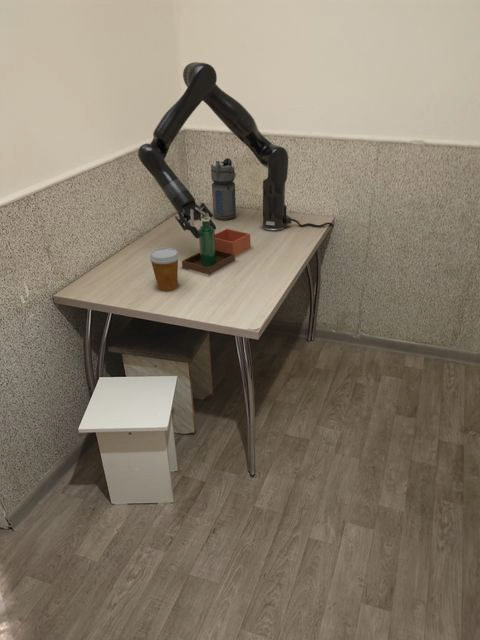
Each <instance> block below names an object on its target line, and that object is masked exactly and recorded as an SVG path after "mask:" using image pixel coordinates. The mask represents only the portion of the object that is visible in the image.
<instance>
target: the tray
mask: <svg viewBox="0 0 480 640" xmlns="http://www.w3.org/2000/svg"><path fill="white" fill-rule="evenodd" d="M235 261H236V256H235V254H231V253H227V252H223V251H219V250H216V264H214V265H213V266H203V265H201V260H200V251H199V252H197V253H195V254H193V255H191V256H189V257H187V258H184V259H183V260H181V267H182V269H185V270H187V271H189V270H190V271H194V272H198V273H201V274H204V275H207V276H208V277H209V276H211V275H212V274H214V273H215V272H217V271H219V270H221V269H222V268H224V267H226V266H228V265H229V264H232V263H234V262H235Z"/></svg>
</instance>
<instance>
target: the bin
mask: <svg viewBox="0 0 480 640" xmlns="http://www.w3.org/2000/svg"><path fill="white" fill-rule="evenodd" d="M215 248H216V250H219V251H223V252H227V253H231V254H235V257H236V256H238V255H239V254H241V253H244V252H245V251H247V250H249V249H251V233H248V232H243V231H239V230H235V229H231V228H225V229H222V230H220V231H218V232H215Z"/></svg>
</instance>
